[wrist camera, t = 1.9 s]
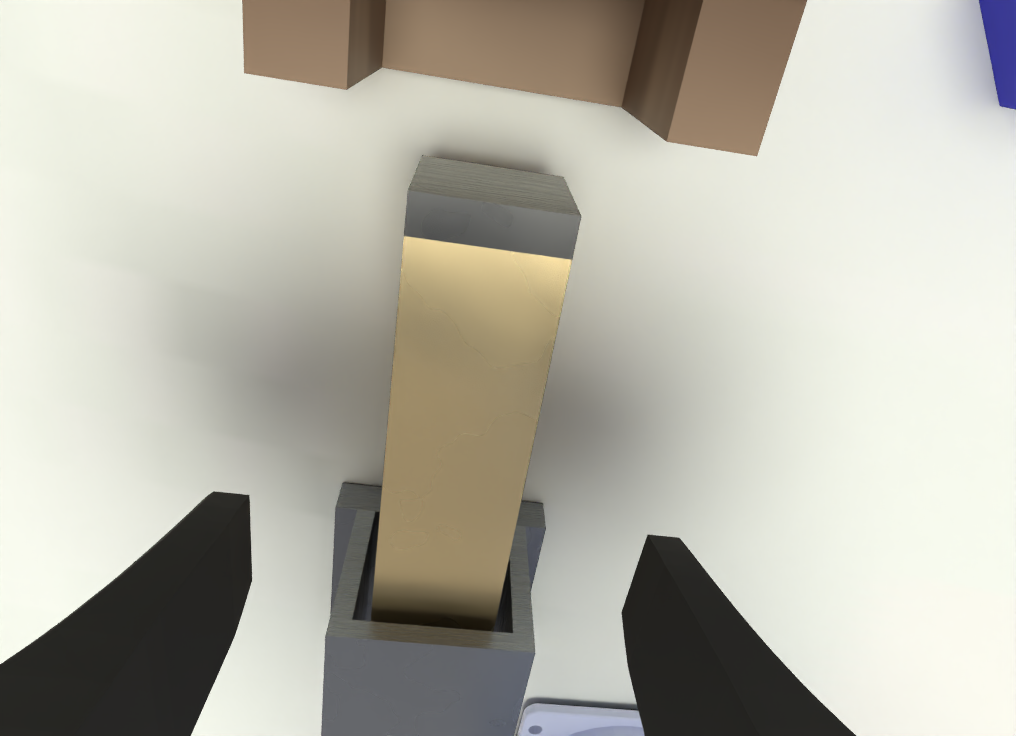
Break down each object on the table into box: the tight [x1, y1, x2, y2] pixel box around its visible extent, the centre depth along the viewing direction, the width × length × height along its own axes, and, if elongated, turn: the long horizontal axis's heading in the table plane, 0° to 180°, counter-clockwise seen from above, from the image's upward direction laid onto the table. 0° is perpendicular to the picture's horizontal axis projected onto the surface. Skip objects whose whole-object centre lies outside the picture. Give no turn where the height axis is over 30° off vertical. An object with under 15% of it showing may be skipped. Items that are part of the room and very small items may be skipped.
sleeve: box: [321, 483, 546, 736], centre depth 19 cm, size 6×6×5 cm
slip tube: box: [371, 155, 581, 632], centre depth 16 cm, size 14×3×3 cm, turn 171°
